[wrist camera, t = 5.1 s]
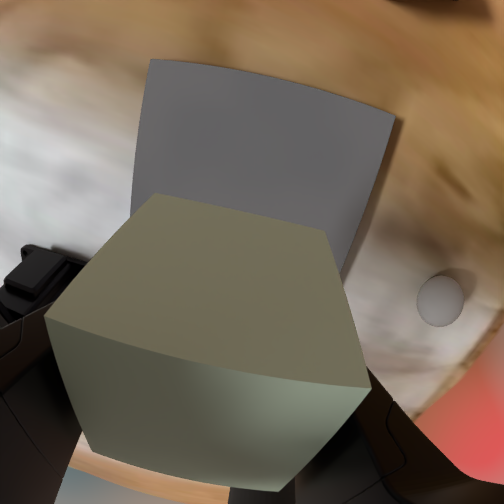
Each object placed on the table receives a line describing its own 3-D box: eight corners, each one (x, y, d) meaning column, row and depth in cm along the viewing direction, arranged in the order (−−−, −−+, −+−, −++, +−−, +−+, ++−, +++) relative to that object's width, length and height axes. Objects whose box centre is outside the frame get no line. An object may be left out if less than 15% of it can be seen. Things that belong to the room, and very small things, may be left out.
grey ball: (437, 309, 19) (454, 339, 17) (402, 302, 19) (417, 334, 16) (458, 271, 18) (480, 299, 15) (423, 261, 18) (444, 290, 15)
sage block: (279, 351, 10) (278, 491, 6) (146, 321, 10) (92, 451, 6) (324, 230, 8) (371, 388, 4) (154, 192, 8) (44, 315, 4)
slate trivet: (320, 304, 20) (322, 312, 19) (133, 262, 19) (128, 269, 18) (390, 114, 14) (395, 115, 13) (156, 60, 13) (150, 58, 13)
